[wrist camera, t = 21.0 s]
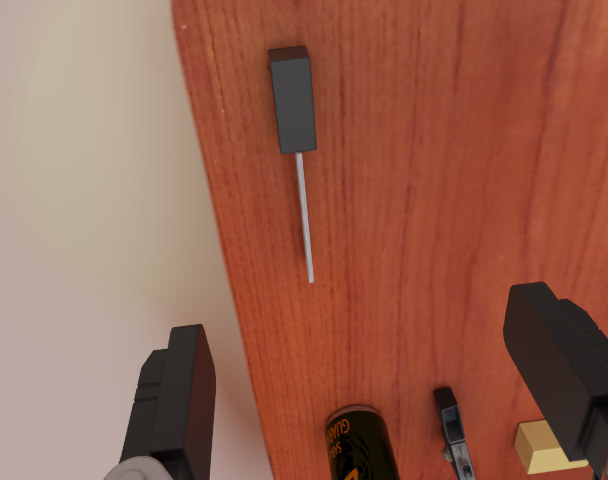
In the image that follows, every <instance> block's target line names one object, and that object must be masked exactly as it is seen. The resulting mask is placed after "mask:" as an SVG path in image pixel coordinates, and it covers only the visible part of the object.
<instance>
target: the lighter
mask: <svg viewBox="0 0 608 480" xmlns="http://www.w3.org/2000/svg"><path fill="white" fill-rule="evenodd" d="M434 395H435V401H436V405H437V410H438V414H439V418H440V422H441V424H442V426H441V429H442V433H443V436H444V440H445V444H446V446H445V447H444V448H443V449H442V450H441V453H442V455H444V458H445V459H446V460H447V461H449V462H451V465H452V467H453V469H454V471H455V473H456V475H457V478H458V480H476V479H475V475H474V471H473V467H472V464H471V460H470V456H469V453H468V449H467V445H466V442H465V434H464V429H463V424H462V419H461V414H460V410H459V406H458V404H457V401H456V399H455V397H454V395H453V392H452V390H451V388H445V389H441V390H437V391H435V392H434Z"/></svg>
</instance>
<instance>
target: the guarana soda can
mask: <svg viewBox="0 0 608 480" xmlns="http://www.w3.org/2000/svg"><path fill="white" fill-rule="evenodd" d="M325 438H326V445H327V452H328V458H329V465H330V472H331V479H332V480H400V476H399V472H398V468H397V465H396V461H395V457H394V453H393V449H392V445H391V442H390V438H389V434H388V430H387V426H386V423H385V421H384V419H383V418H382V417H381V415H380V414H379V413H378V412H377V411H375V410H374V409H373V408H370V407H367V406H359V405H357V406H349V407H346V408H343V409H341V410H339V411H337V412H336V413H334V414H333V415H332V416H331V417H330V419H329V421H328V424H327V427H326V430H325Z"/></svg>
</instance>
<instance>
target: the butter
mask: <svg viewBox="0 0 608 480" xmlns="http://www.w3.org/2000/svg"><path fill="white" fill-rule="evenodd" d="M514 447H515V449H516V451H517V453H518V455H519V457H520V459H521V461H522V463H523V466H524V468H525V470H526V472H527V474H533V473H540V472H548V471H555V470H562V469H569V468H576V467H583V466H587V465H588V461H587V460H581V461H574V462H569V461H568V459H567V457H566V455H565V454H564V452H563V450H562V448H561V446H560V445H559V443H558V441H557V439H556V437H555V436H554V434H553V432H552V430H551V428H550V427H549V425H548V423H547V421H546V420H541V421H533V422H526V423H520V424H519V426H518V431H517V435H516V439H515V444H514Z"/></svg>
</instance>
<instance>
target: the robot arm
mask: <svg viewBox="0 0 608 480" xmlns="http://www.w3.org/2000/svg"><path fill="white" fill-rule="evenodd" d="M503 335H504V341H505V345H506V348H507V350H508V352H509V354H510V356H511V358H512V360H513V361H514V363H515V365H516V367H517V369H518V370H519V372H520V374H521V376H522V378H523V380H524V381H525V383H526V385H527V387H528V389H529V390H530V392H531V394H532V396H533V398H534V399H535V401H536V403H537V405H538V407H539V408H540V410H541V412H542V414H543V416H544V417H545V419H546V421H547V423H548V425H549V427H550V428H551V430H552V432H553V434H554V436H555V437H556V439H557V441H558V443H559V445H560V446H561V448H562V450H563V452H564V454H565V455H566V457H567V459H568V461H569V462H574V461H581V460H587V461H588V462H589V464H590V466H591V468H592V469H593V471H592V474H591V477H590V480H608V339H607V337H606V336H605V335H604V334H603V332H602V331H601V330H599V329H598V326H597V325H596V323H595V322H594V321H593V320H592V318H591V317H590V316H589V315H588V313H587V312H586V311H585V310H583V309H582V308H580V307H579V306H577V305H576V304H574V303H573V302H571V301H570V300H568V299H560V300H558V299H557V298H556V296H555V295H554V294H553V292H552V291H551V290H550V288H549V287H548V286H547V284H546V283H544V282H534V283H526V284H518V285H513V286H511V288H510V291H509V297H508V303H507V309H506V315H505V321H504V327H503ZM215 395H216V375H215V368H214V363H213V359H212V356H211V352H210V349H209V345H208V342H207V338H206V334H205V331H204V327H203V325H202V324H196V325H188V326H180V327H173V328H172V330H171V333H170V339H169V344H168V349H161V350H154V351H153V352H152V353H151V355H150V356H149V357H148V359H147V360H146V362H145V363H144V365H143V366H142V368H141V372H140V376H139V381H138V388H137V389H136V394H135V398H134V401H135V402H134V403H133V407H132V411H131V416H130V420H129V425H128V428H127V433H126V437H125V442H124V446H123V450H122V455H121V458H120V461H119V464H118V465H117V466H115V467H114V468H113V469H112V470H111V471H110V472H109V473H108V474H107V476H106V477H105V478H104V480H209V479H210V464H211V450H212V436H213V423H214V409H215V408H214V407H215Z"/></svg>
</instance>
